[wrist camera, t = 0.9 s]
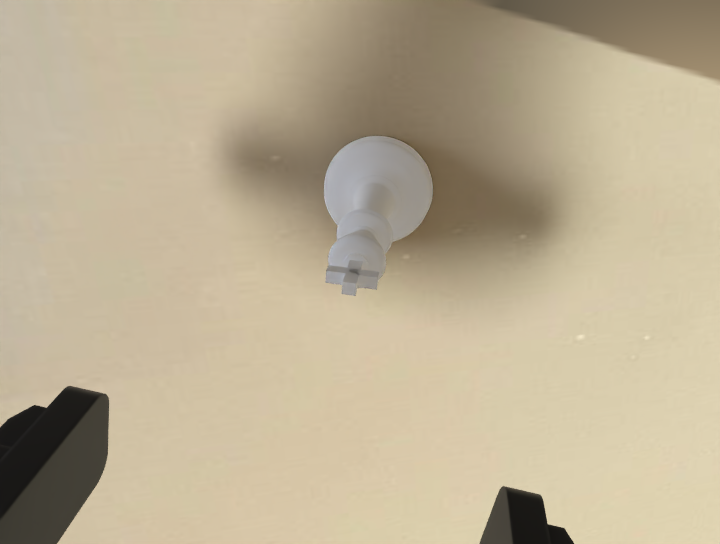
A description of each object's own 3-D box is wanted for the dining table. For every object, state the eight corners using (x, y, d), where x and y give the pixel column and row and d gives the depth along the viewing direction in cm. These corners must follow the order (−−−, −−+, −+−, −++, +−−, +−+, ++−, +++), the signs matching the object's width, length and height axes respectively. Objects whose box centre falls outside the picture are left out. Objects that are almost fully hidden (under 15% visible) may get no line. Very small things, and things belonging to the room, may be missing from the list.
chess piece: (328, 128, 29) (275, 205, 20) (440, 142, 28) (438, 226, 19) (321, 232, 31) (270, 343, 22) (425, 246, 31) (416, 364, 22)
